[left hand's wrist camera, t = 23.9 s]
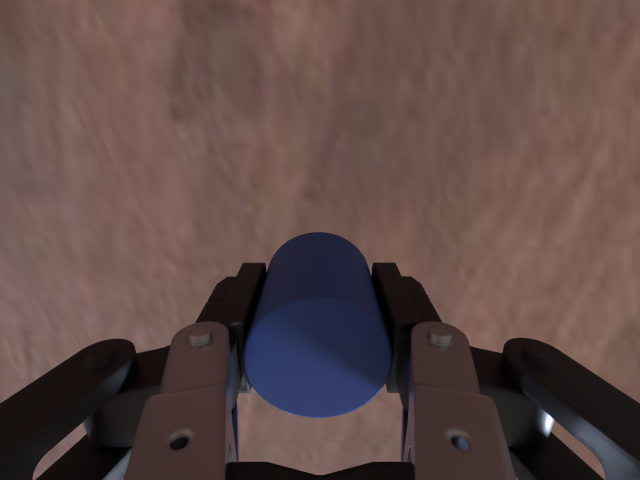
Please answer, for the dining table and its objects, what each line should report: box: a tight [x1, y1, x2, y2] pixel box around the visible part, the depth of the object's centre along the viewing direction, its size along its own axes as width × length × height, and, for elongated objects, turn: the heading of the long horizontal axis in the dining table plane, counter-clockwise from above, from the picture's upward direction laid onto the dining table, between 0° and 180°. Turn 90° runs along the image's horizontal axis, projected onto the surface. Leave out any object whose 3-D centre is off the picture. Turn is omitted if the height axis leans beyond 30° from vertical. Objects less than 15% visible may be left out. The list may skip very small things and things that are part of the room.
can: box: [243, 232, 393, 418], centre depth 11 cm, size 4×4×4 cm
